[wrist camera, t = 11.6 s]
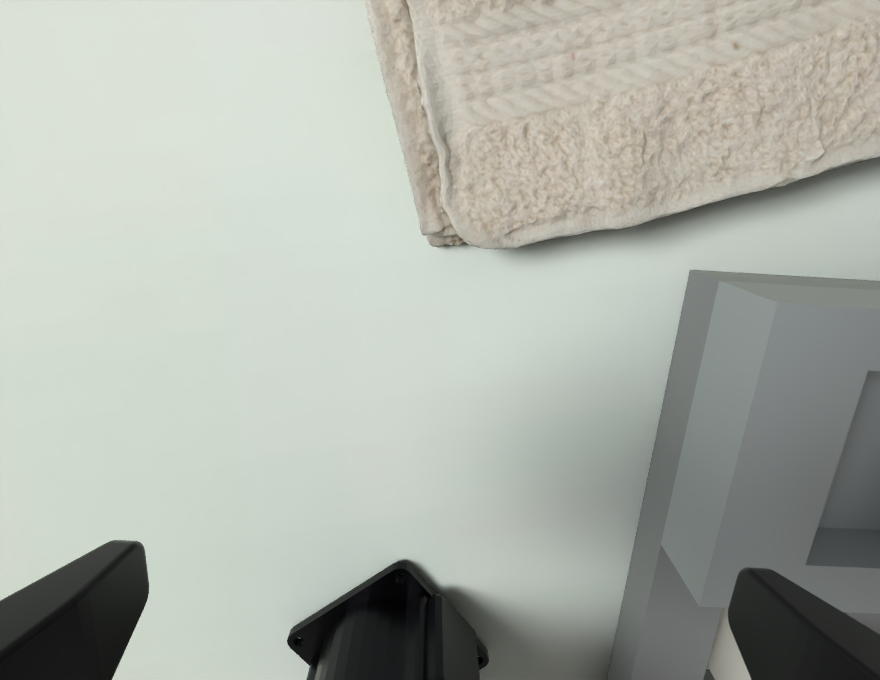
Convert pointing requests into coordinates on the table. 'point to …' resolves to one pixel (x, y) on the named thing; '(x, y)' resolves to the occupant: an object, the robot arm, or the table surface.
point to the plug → (726, 654)
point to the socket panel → (757, 463)
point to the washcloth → (618, 106)
